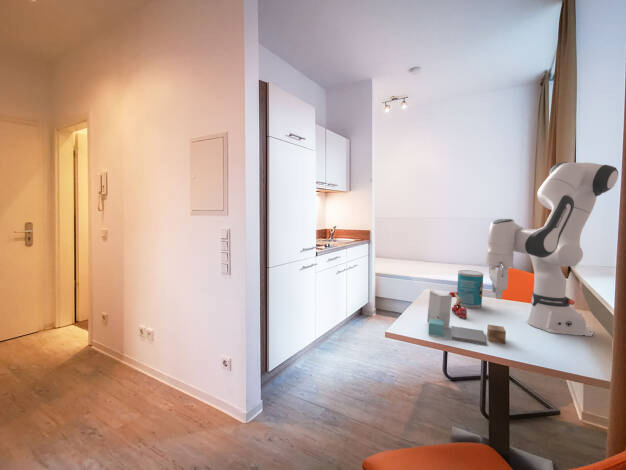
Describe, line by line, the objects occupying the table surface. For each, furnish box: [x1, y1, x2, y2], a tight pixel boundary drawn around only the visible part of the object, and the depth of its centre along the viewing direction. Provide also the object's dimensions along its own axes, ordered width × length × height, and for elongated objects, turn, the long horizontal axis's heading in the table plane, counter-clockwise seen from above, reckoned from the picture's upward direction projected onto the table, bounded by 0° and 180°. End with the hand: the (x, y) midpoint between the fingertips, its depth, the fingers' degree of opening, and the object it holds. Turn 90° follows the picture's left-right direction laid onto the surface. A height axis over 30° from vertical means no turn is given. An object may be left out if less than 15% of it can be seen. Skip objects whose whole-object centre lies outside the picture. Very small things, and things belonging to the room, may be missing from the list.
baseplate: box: [450, 325, 487, 346], centre depth 124 cm, size 12×12×1 cm
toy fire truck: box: [448, 291, 468, 319], centre depth 151 cm, size 3×14×10 cm, turn 179°
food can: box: [456, 269, 484, 309], centre depth 164 cm, size 12×12×18 cm
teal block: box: [427, 319, 444, 338], centre depth 127 cm, size 6×6×5 cm
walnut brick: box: [486, 324, 507, 345], centre depth 121 cm, size 6×6×5 cm
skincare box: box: [426, 289, 453, 329], centre depth 136 cm, size 8×6×15 cm
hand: (496, 295), depth 120 cm, fingers open, 8 cm apart
